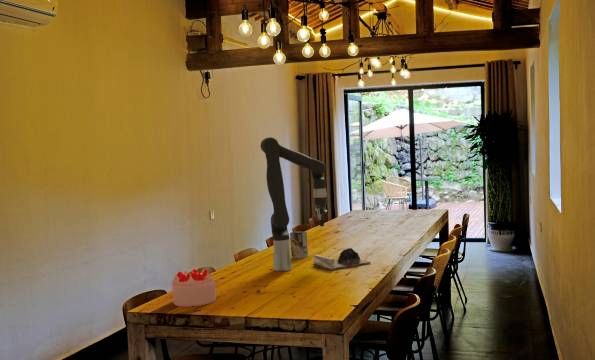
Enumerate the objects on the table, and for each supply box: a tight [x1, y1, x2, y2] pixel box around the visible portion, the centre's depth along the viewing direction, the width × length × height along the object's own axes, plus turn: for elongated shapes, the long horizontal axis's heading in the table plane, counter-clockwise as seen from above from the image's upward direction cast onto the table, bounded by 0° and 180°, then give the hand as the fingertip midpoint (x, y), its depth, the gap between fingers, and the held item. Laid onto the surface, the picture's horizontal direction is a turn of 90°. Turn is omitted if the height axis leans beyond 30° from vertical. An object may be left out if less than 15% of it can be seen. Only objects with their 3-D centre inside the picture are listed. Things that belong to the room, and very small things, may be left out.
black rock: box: [337, 247, 361, 264], centre depth 348 cm, size 13×14×10 cm
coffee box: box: [289, 231, 309, 259], centre depth 381 cm, size 9×6×16 cm
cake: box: [171, 268, 217, 308], centre depth 282 cm, size 20×20×14 cm
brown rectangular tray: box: [312, 254, 371, 271], centre depth 347 cm, size 26×20×6 cm
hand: (321, 226), depth 351 cm, fingers closed
